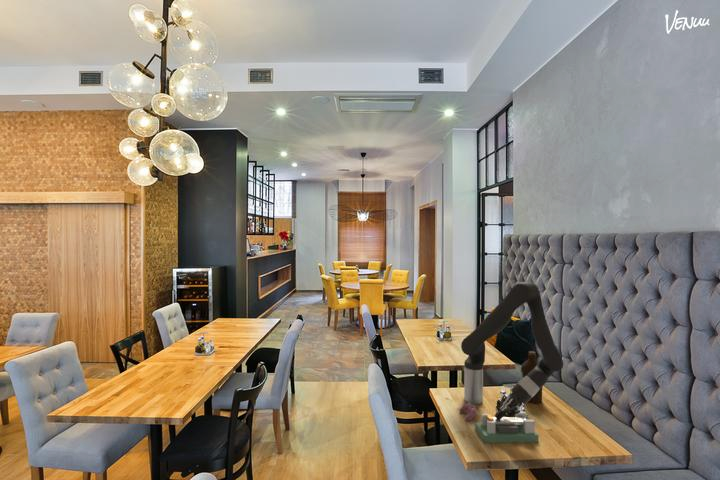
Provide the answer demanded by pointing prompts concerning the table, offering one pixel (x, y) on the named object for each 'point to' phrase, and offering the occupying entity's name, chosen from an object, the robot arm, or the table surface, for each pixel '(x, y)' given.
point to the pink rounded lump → (469, 411)
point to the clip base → (505, 436)
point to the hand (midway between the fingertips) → (496, 418)
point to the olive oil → (527, 368)
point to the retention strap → (506, 420)
